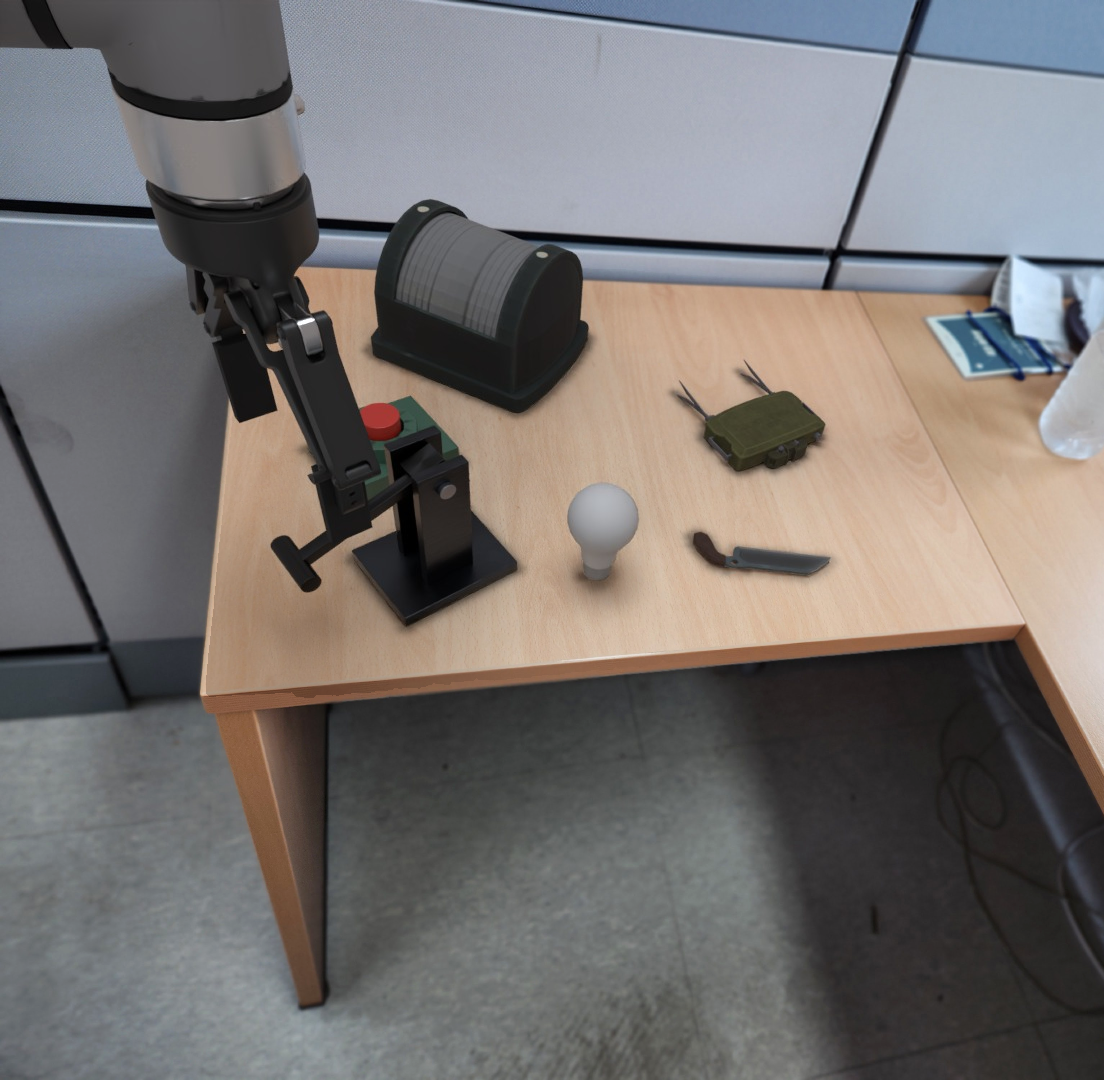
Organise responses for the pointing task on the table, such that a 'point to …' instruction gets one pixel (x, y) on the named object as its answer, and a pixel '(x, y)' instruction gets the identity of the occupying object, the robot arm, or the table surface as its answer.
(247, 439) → the table surface
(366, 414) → the button
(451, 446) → the button box
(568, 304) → the light fixture
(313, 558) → the switch lever
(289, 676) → the table surface
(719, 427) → the landmine
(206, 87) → the robot arm
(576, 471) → the table surface
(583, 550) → the lightbulb
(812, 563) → the knife
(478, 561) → the switch bracket
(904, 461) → the table surface
